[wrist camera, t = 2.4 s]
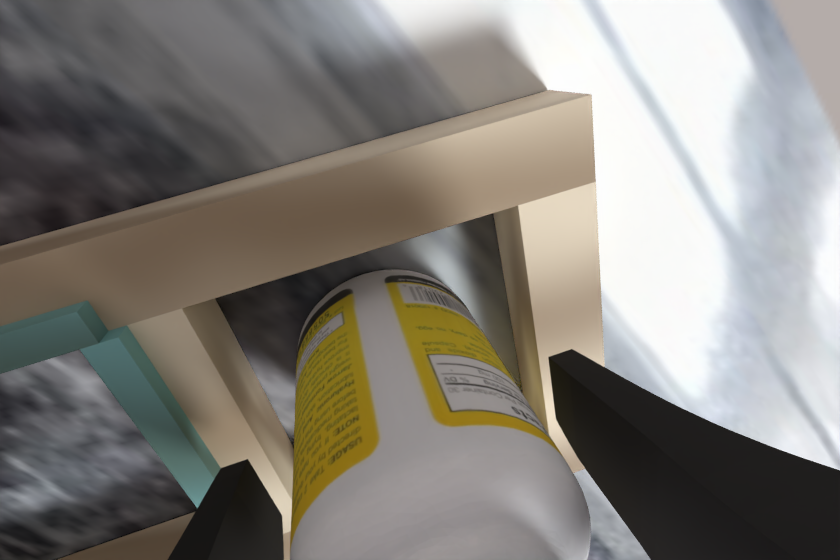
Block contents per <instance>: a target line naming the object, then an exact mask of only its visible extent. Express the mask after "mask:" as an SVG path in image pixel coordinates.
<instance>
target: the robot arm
mask: <svg viewBox="0 0 840 560" xmlns="http://www.w3.org/2000/svg"><path fill="white" fill-rule="evenodd" d="M548 359H549V367H550V376H551V384H552V392H553V400H554V408H555V416H556V420H557V422H558V424H559V426H560V428H561V429H562V431H563V433H564V435H565V437H566V438H567V440H568V442H569V444H570V445H571V447H572V449H573V451H574V452H575V454H576V456H577V457H578V459H579V460H580V462H581V463H582V464H583V466H584V467H585V469H586V470H587V471H588V473H589V474H590V476H591V477H592V478H593V480H594V481H595V483H596V484H597V485H598V487H599V488H600V489H601V491H602V492H603V494H604V495H605V496H606V498H607V499H608V500H609V502H610V503H611V504H612V506H613V507H614V509H615V510H616V511H617V513H618V514H619V515H620V517H621V518H622V520H623V521H624V522H625V524H626V525H627V526H628V528H629V529H630V530H631V532H632V533H633V535H634V536H635V537H636V539H637V540H638V541H639V543H640V544H641V546H642V547H643V549H644V550H645V552H646V553H647V554H648V556H649V557H650V559H651V560H840V471H839V470H837V469H834V468H831V467H828V466H825V465H822V464H819V463H816V462H813V461H810V460H807V459H804V458H801V457H798V456H795V455H792V454H790V453H787V452H784V451H781V450H779V449H776V448H773V447H771V446H768V445H766V444H763V443H760V442H758V441H755V440H753V439H750V438H748V437H745V436H743V435H740V434H738V433H735V432H733V431H730V430H728V429H726V428H723V427H721V426H719V425H717V424H714V423H712V422H710V421H708V420H705V419H703V418H701V417H699V416H697V415H695V414H693V413H690V412H688V411H686V410H684V409H682V408H680V407H678V406H676V405H674V404H672V403H670V402H668V401H666V400H664V399H662V398H660V397H658V396H656V395H654V394H652V393H651V392H649V391H647V390H645V389H643V388H641V387H639V386H637V385H635V384H634V383H632V382H630V381H628V380H626V379H624V378H623V377H621V376H619V375H617V374H616V373H614V372H612V371H610V370H608V369H607V368H605V367H603V366H601V365H600V364H598V363H596V362H594V361H593V360H591V359H589V358H587V357H586V356H584V355H582V354H580V353H579V352H577V351H575V350H573V349H570V350H567V351H565V352H562V353H559V354H556V355H553V356H550V357H548ZM167 560H284V541H283V522H282V514H281V513H280V511H279V510H278V508H277V506H276V505H275V503H274V501H273V500H272V498H271V496H270V495H269V493H268V491H267V490H266V488H265V486H264V485H263V483H262V481H261V480H260V478H259V477H258V475H257V473H256V472H255V470H254V468H253V467H252V465H251V463H250V462H249V460H248V459H246V460H243V461H240V462H237V463H234V464H231V465H228V466H225V467H223V468H221V469H220V470H219V472H218V474H217V475H216V477H215V479H214V480H213V482H212V484H211V486H210V487H209V489H208V491H207V493H206V494H205V496H204V498H203V499H202V501H201V503H200V505H199V506H198V508H197V510H196V512H195V513H194V515H193V517H192V519H191V520H190V522H189V524H188V526H187V527H186V529H185V531H184V533H183V534H182V536H181V538H180V539H179V541H178V543H177V544H176V546H175V548H174V549H173V551H172V553H171V554H170V556H169V558H168V559H167Z"/></svg>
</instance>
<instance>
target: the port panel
mask: <svg viewBox="0 0 840 560" xmlns="http://www.w3.org/2000/svg"><path fill="white" fill-rule="evenodd" d="M492 213H493V214H494V221H495V227H496V233H497V239H498V245H499V251H500V257H501V263H502V269H503V275H504V281H505V288H506V294H507V300H508V306H509V312H510V318H511V324H512V330H513V336H514V342H515V348H516V355H517V361H518V367H519V373H520V379H521V385H522V391H523V395H524V397H525V399H526V400H527V401H528V403H529V405H530V406H531V408H532V409H533V411H534V413H535V414H536V416H537V417H538V419H539V420H540V422H541V423H542V425H543V426H544V428H545V429H546V431H547V433H548V434H549V436H550V437H551V439H552V440H553V442H554V443H555V445H556V446H557V448H558V449H559V451H560V452H561V454H562V455H563V457H564V458H565V460H566V462H567V463H568V465H569V467H570V469H571V471H572V473H575V472H577V471H580V470H583V469H585V467H584V466H583V464H582V463H581V462H580V460H579V459H578V457H577V456H576V454H575V452H574V451H573V449H572V447H571V445H570V444H569V442H568V440H567V438H566V437H565V435H564V433H563V431H562V429H561V428H560V426H559V424H558V422H557V420H556V416H555V408H554V400H553V392H552V384H551V376H550V367H549V359H548V357H550V356H553V355H556V354H559V353H562V352H565V351H567V350H570V349H573V350H575V351H577V352H579V353H580V354H582V355H584V356H586V357H587V358H589V359H591V360H593V361H594V362H596V363H598V364H600V365H601V366H603V367H604V347H603V326H602V305H601V285H600V264H599V243H598V222H597V201H596V180H595V159H594V138H593V118H592V97H591V95H590V94H581V93H572V92H562V91H553V90H548V91H544V92H541V93H537V94H534V95H530V96H526V97H523V98H519V99H516V100H512V101H509V102H505V103H502V104H498V105H495V106H491V107H488V108H484V109H481V110H477V111H474V112H470V113H467V114H463V115H460V116H456V117H453V118H449V119H446V120H442V121H439V122H435V123H432V124H428V125H425V126H421V127H418V128H414V129H410V130H407V131H403V132H400V133H396V134H393V135H389V136H386V137H382V138H379V139H375V140H372V141H368V142H365V143H361V144H358V145H354V146H351V147H347V148H344V149H340V150H337V151H333V152H330V153H326V154H323V155H319V156H316V157H312V158H309V159H305V160H301V161H298V162H294V163H291V164H287V165H284V166H280V167H277V168H273V169H270V170H266V171H263V172H259V173H256V174H252V175H249V176H245V177H242V178H238V179H235V180H231V181H228V182H224V183H221V184H217V185H214V186H210V187H207V188H203V189H200V190H196V191H192V192H189V193H185V194H182V195H178V196H175V197H171V198H168V199H164V200H161V201H157V202H154V203H150V204H147V205H143V206H140V207H136V208H133V209H129V210H126V211H122V212H119V213H115V214H112V215H108V216H105V217H101V218H98V219H94V220H91V221H87V222H84V223H80V224H76V225H73V226H69V227H66V228H62V229H59V230H55V231H52V232H48V233H45V234H41V235H38V236H34V237H31V238H27V239H24V240H20V241H17V242H13V243H10V244H6V245H3V246H0V374H1V373H4V372H8V371H11V370H14V369H17V368H21V367H24V366H27V365H30V364H34V363H37V362H40V361H43V360H47V359H50V358H53V357H56V356H60V355H63V354H66V353H69V352H73V351H76V350H79V349H80V351H81V352H82V353H83V355H84V356H85V357H86V359H87V360H88V361H89V363H90V364H91V366H92V367H93V368H94V370H95V371H96V372H97V374H98V375H99V376H100V378H101V379H102V380H103V382H104V383H105V384H106V386H107V387H108V388H109V390H110V391H111V393H112V394H113V395H114V397H115V398H116V399H117V401H118V402H119V403H120V405H121V406H122V407H123V409H124V410H125V411H126V413H127V414H128V415H129V417H130V418H131V420H132V421H133V422H134V424H135V425H136V426H137V428H138V429H139V430H140V432H141V433H142V434H143V436H144V437H145V438H146V440H147V441H148V442H149V444H150V445H151V447H152V448H153V449H154V451H155V452H156V453H157V455H158V456H159V457H160V459H161V460H162V461H163V463H164V464H165V465H166V467H167V468H168V469H169V471H170V472H171V474H172V475H173V476H174V478H175V479H176V480H177V482H178V483H179V484H180V486H181V487H182V488H183V490H184V491H185V492H186V494H187V495H188V496H189V498H190V499H191V500H192V502H193V503H194V505H195V506H196V507H197V508H198V506H199V505H200V503H201V501H202V499H203V498H204V496H205V494H206V493H207V491H208V489H209V487H210V486H211V484H212V482H213V480H214V479H215V477H216V475H217V474H218V472H219V470H220V469H221V468H223V467H225V466H228V465H231V464H234V463H237V462H240V461H243V460H246V459H248V460H249V462H250V463H251V465H252V467H253V468H254V470H255V472H256V473H257V475H258V477H259V478H260V480H261V481H262V483H263V485H264V486H265V488H266V490H267V491H268V493H269V495H270V496H271V498H272V500H273V501H274V503H275V505H276V506H277V508H278V510H279V511H280V513H281V514H282V522H283V541H284V560H290V533H291V514H292V489H293V461H294V447H293V445H292V444H291V442H290V440H289V438H288V436H287V434H286V432H285V430H284V428H283V426H282V425H281V423H280V421H279V419H278V417H277V415H276V413H275V411H274V409H273V407H272V406H271V404H270V402H269V400H268V398H267V396H266V394H265V392H264V390H263V388H262V387H261V385H260V383H259V381H258V379H257V377H256V375H255V373H254V371H253V369H252V368H251V366H250V364H249V362H248V360H247V358H246V356H245V354H244V352H243V350H242V349H241V347H240V345H239V343H238V341H237V339H236V337H235V335H234V333H233V331H232V330H231V328H230V326H229V324H228V322H227V320H226V318H225V316H224V314H223V312H222V311H221V309H220V307H219V305H218V303H217V301H216V299H215V298H218V297H221V296H224V295H227V294H231V293H234V292H237V291H240V290H244V289H247V288H250V287H253V286H257V285H260V284H263V283H267V282H270V281H273V280H276V279H280V278H283V277H286V276H289V275H293V274H296V273H299V272H302V271H306V270H309V269H312V268H316V267H319V266H322V265H325V264H329V263H332V262H335V261H338V260H342V259H345V258H348V257H351V256H355V255H358V254H361V253H365V252H368V251H371V250H374V249H378V248H381V247H384V246H387V245H391V244H394V243H397V242H400V241H404V240H407V239H410V238H413V237H417V236H420V235H423V234H427V233H430V232H433V231H436V230H440V229H443V228H446V227H449V226H453V225H456V224H459V223H462V222H466V221H469V220H472V219H476V218H479V217H482V216H485V215H489V214H492ZM194 513H195V512H193V513H190V514H187V515H184V516H181V517H178V518H175V519H172V520H170V521H167V522H164V523H161V524H158V525H155V526H152V527H149V528H146V529H143V530H141V531H138V532H135V533H132V534H129V535H126V536H123V537H120V538H117V539H115V540H112V541H109V542H106V543H103V544H100V545H97V546H94V547H91V548H89V549H86V550H83V551H80V552H77V553H74V554H71V555H68V556H65V557H63V558H60V559H57V560H167V559H168V558H169V556H170V554H171V553H172V551H173V549H174V548H175V546H176V544H177V543H178V541H179V539H180V538H181V536H182V534H183V533H184V531H185V529H186V527H187V526H188V524H189V522H190V520H191V519H192V517H193V515H194Z"/></svg>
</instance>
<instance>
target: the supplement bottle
mask: <svg viewBox="0 0 840 560" xmlns="http://www.w3.org/2000/svg"><path fill="white" fill-rule="evenodd" d="M590 538H591V525H590V515H589V511H588V506H587V503H586V500H585V497H584V494H583V491H582V489H581V487H580V485H579V483H578V481H577V479H576V477H575V476H574V474H573V473H572V471H571V469H570V467H569V465H568V463H567V462H566V460H565V458H564V457H563V455H562V454H561V452H560V451H559V449H558V448H557V446H556V445H555V443H554V442H553V440H552V439H551V437H550V436H549V434H548V433H547V431H546V429H545V428H544V426H543V425H542V423H541V422H540V420H539V419H538V417H537V416H536V414H535V413H534V411H533V409H532V408H531V406H530V405H529V403H528V401H527V400H526V399H525V397H524V395H523V394H522V392H521V391H520V389H519V388H518V386H517V385H516V383H515V382H514V380H513V378H512V377H511V375H510V374H509V372H508V370H507V369H506V367H505V366H504V364H503V363H502V361H501V360H500V358H499V357H498V355H497V353H496V352H495V350H494V349H493V347H492V346H491V344H490V343H489V341H488V340H487V338H486V336H485V335H484V333H483V332H482V330H481V329H480V327H479V326H478V324H477V323H476V321H475V319H474V318H473V316H472V315H471V314H470V312H469V310H468V309H467V307H466V306H465V304H464V303H463V302H462V301H461V300H460V299H459V297H458V296H457V295H456V294H455V293H454V292H453V291H452V290H451V289H450V288H448V287H447V286H446V285H444V284H443V283H441V282H440V281H438V280H436V279H434V278H432V277H430V276H427V275H424V274H422V273H419V272H414V271H410V270H397V269H393V270H380V271H374V272H370V273H366V274H363V275H360V276H357V277H355V278H352V279H350V280H348V281H346V282H344V283H342V284H341V285H339V286H337V287H336V288H335V289H333V290H332V291H330V292H329V293H328V294H327V295H326V296H325V297H324V298H323V299H322V300H321V301H320V302H319V303H318V304H317V305H316V306H315V307H314V309H313V310H312V311H311V313H310V314H309V316H308V318H307V319H306V321H305V324H304V326H303V328H302V331H301V334H300V338H299V342H298V348H297V361H296V401H295V428H294V461H293V489H292V514H291V533H290V560H587V558H588V554H589V548H590Z"/></svg>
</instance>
